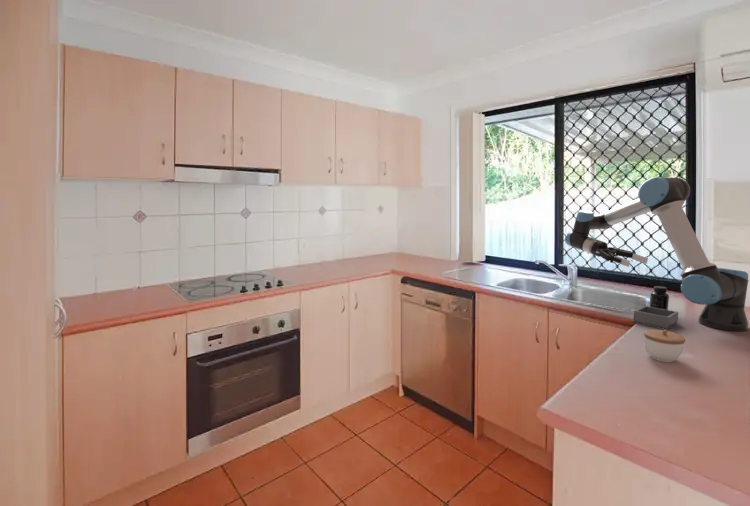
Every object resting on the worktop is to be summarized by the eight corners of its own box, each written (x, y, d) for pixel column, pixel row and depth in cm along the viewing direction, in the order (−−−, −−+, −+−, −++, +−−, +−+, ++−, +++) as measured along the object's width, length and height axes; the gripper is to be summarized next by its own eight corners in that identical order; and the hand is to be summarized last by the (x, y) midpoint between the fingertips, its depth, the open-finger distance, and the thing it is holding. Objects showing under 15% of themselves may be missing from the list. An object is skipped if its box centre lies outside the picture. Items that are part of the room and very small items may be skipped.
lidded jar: (642, 360, 129) (645, 332, 128) (641, 349, 138) (644, 322, 137) (684, 367, 123) (688, 338, 122) (680, 356, 132) (684, 328, 131)
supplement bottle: (649, 310, 185) (652, 284, 183) (667, 313, 181) (670, 286, 179) (647, 313, 180) (650, 287, 178) (666, 316, 175) (669, 289, 174)
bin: (677, 323, 165) (678, 312, 165) (667, 329, 158) (668, 317, 157) (643, 317, 175) (644, 305, 174) (633, 322, 167) (634, 310, 167)
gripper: (609, 252, 207) (651, 267, 189) (576, 256, 196) (618, 272, 178) (613, 238, 204) (656, 252, 187) (580, 241, 193) (623, 256, 176)
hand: (638, 262), depth 182 cm, fingers open, 13 cm apart
